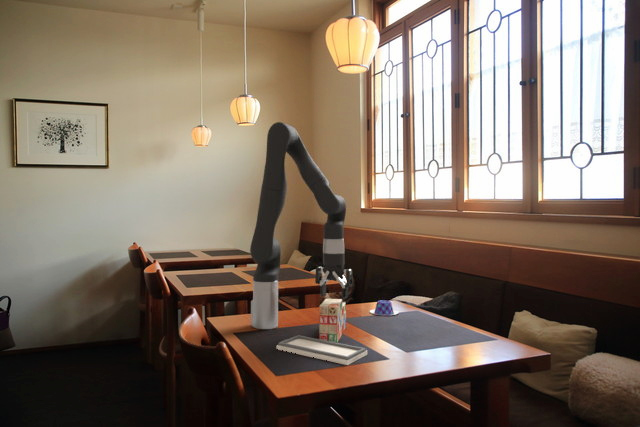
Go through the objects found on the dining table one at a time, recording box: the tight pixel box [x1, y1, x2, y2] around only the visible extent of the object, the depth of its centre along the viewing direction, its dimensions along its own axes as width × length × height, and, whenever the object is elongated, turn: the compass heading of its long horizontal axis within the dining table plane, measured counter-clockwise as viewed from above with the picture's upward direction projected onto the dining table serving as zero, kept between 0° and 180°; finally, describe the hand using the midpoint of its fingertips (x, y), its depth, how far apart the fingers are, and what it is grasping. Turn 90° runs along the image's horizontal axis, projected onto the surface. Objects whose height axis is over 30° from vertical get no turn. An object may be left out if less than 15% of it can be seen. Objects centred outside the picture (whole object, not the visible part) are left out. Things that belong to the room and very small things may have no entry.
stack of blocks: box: [318, 298, 347, 343], centre depth 174 cm, size 21×6×12 cm, turn 169°
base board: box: [276, 334, 369, 366], centre depth 153 cm, size 26×12×2 cm, turn 56°
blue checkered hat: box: [369, 299, 399, 317], centre depth 207 cm, size 12×12×5 cm
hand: (333, 297), depth 174 cm, fingers open, 8 cm apart
